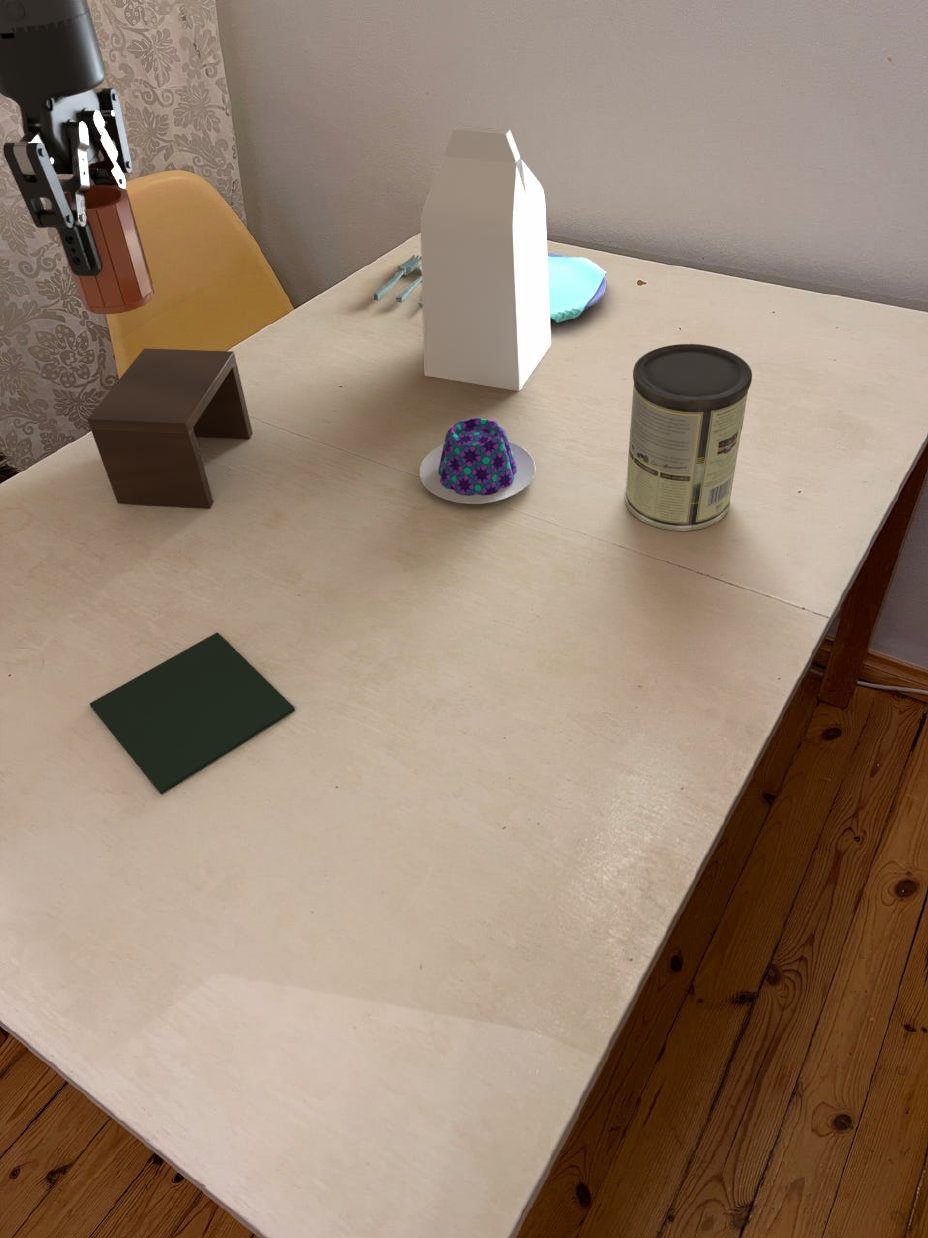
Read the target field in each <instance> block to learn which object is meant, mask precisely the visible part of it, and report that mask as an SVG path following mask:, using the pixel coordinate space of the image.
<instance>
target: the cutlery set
mask: <svg viewBox="0 0 928 1238" xmlns="http://www.w3.org/2000/svg"><path fill="white" fill-rule="evenodd" d="M547 260H548V284H549V308H550V320H554V321H555V322H556V323H561V322H564V321H568V320H575V319H576V318H579V317H580V316H581V314H582V313H583V311H584V310H587V309H588V308H590V307H592V306H594V305H595V304H596V303H597V302H598V301H599V300H601V298H602V297H604V295H605V292H606V287H607V284H608V281H607V280H606V277H605V276H607V273H608V272H606V271H605V270H604V269H603V268H601V267H600V266H599V265H598V264H596V263H595V262H593V261H592V260H590V259H588V258H586V257H581V256H580V257H579V256H578V257H576V256H575V257H573V256H568V255H563V254H558V253H552V252H551V253H549V252H547ZM420 262H421V256H420V255H415V254H413V255H412V256H411V257H410V258H408V259H407V260H406V261H405V262H403V263H402V264H400V265H397V269H398V270H397V272H396V273H395V274H394V275H393V276H392V278H391V279H390V280H388V281H387V282H386V283H385V284H384V285H383V286H381V287H379V289H377V291H375V292H374V293H373V295H372V297H373V301H380V300H381V298H382V297H384V295H385V294H387V292H389V291H390V290H391V289H393V287H394V286H395V285H396V284H397V282H398V281H399V280H400V278H401V277H402V276H408V275H409V274H412V272H413V271H414V269H416V267H417V266H418V264H419V263H420ZM418 269H419V271H420V272H421V274H422V262H421V263H420V265H419V267H418ZM421 282H422V275H420V276H418V277H417V278H416V279H415V280H414V281H412V282H411V283H410V284H408V286H407V287H405V289H403V290H402V291H401V292H400V293H399V294H398V295H397V296H396V297H395V301H396V303H403V302H404V301H405V299H406V298H407V297H408V296H409V294H410V293H411V292H412V291H413V290H414V289H415V288H416V286H418V285H419V284H420V283H421ZM417 305H418V308H419V309H423V299H422V300H421V301H420V302H418V304H417Z"/></svg>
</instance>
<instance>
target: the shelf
mask: <svg viewBox="0 0 928 1238" xmlns="http://www.w3.org/2000/svg"><path fill="white" fill-rule="evenodd" d="M86 421H87V423H88V427H89V429H90V430H91V435H92V437H93V440H94V442H95V445H96V448H97V451H98V453H99V455H100V458H101V461H102V464H103V467H104V469H105V473H106V475H107V478H108V482H109V484H110V487H111V489H112V491H113V495H114V497H115V500H116V503H117V504H119V505H137V506H153V507H154V506H155V507H172V508H186V509H187V508H188V509H202V510H203V509H206V510H210V509H211V508H212V506H213V504H214V499H213V495H212V491H211V487H210V484H209V480H208V477H207V473H206V468H205V466H204V462H203V459H202V455H201V451H200V447H199V444H198V441H197V438H213V439H235V440H236V439H237V440H250V439H251V437H252V436H253V434H254V433H253V429H252V424H251V420H250V415H249V411H248V407H247V402H246V397H245V393H244V390H243V385H242V381H241V375H240V372H239V366H238V363H237V359H236V355H235V351H229V350H203V349H201V350H199V349H176V348H175V349H172V348H171V349H170V348H167V349H166V348H146V347H145V348H143V349H142V351H141V352H140V353H139V354H138V355H137V356H136V358H135V359H134V360H133V362H132V363H131V364H130V365H129V366H128V367H127V369H126V370H125V372H124V373H123V374H122V375H121V376H120V377H119V378H118V380H117V382H116V383H114V385H113V387H111V388H110V390H109V391H108V392H107V393H106V395H105V396H104V397H103V399H102V400H101V401H100V402H99V404H98V405H97V406H96V407H95V409H94V410H93V411H92V412H91V414H90V415H89V416H88V417H87V419H86Z"/></svg>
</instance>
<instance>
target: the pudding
mask: <svg viewBox="0 0 928 1238" xmlns="http://www.w3.org/2000/svg"><path fill="white" fill-rule="evenodd" d="M536 468H537V466H536V462H535V460H534V458H533V456H532V455H531V453H530V452H529V451H528V450H527V449H525V448H524V447H522V446H521V445H520V444H517V443H516V442H513V441H510V440H509V438H508V435H507V432H506V431H505V430H504V428H503V427H502V426H500V425H499V423H498V422H497V421H495V420H493V419H489V418H488V419H484V418H481V417H471V418H469V419H462V420H459V421H458V422H456V423H454V425H453V426H452V427H450V428H449V429H448V430H447V432H446V434H445V436H444V442H443V444H441V445H439V446H437V447H435V448H434V449H432V450H431V451H430V452H428V453H427V455H426V456H424V458H423V459H422V461H421V463H420V465H419V469H418V476H419V479H420V482H421V484H422V485H423V487H425V489H426V490H428V491H429V492H430V493H432V494H433V495H435V496H436V497H438V498H441V499H443V500H446V501H450V502H453V503H459V504H468V505H480V504H490V503H495V502H499V501H502V500H503V501H504V500H506V499H509V498H511V497H513V496H515V495H517V494H519V493H520V492H522V491H524V489H526V488H527V487H528V486H529V485H531V482H532V481H533V480H534V477H535V475H536V471H537V470H536Z"/></svg>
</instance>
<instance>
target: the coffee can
mask: <svg viewBox="0 0 928 1238" xmlns="http://www.w3.org/2000/svg"><path fill="white" fill-rule="evenodd" d="M632 380H633V385H632V386H633V388H632V403H631V415H630V429H629V441H628V456H627V469H626V472H627V473H626V484H625V491H624V503H625V506H626V507H627V509H628V511H629V512H630V514H632V515H633V516H634V517H636V518H637V519H638V520H639V521H641V523H644V524H647V525H649V526H651V527H655V528H658V529H662V530H665V531H674V532H675V531H676V532H689V531H690V532H691V531H699V530H701V529H706V528H708V527H710V526H713V525H715V524H716V523H718V522H719V521H721V520H722V519H724V517H725V516H726V514H727V513H728V512H729V510H730V506H731V495H732V490H733V482H734V477H735V472H736V471H735V470H736V466H737V460H738V459H737V458H738V453H739V447H740V443H741V442H740V441H741V436H742V435H741V434H742V431H743V426H744V419H745V413H746V412H745V411H746V405H747V400H748V393H749V389H750V387H751V384H752V381H753V371H752V369H751V367H750V365H749V364H748V363H747V362H746V360H745V359H743V358H741V356H738V355H737V354H735V353H733V352H731V351H729V350H726V349H723V348H721V347H717V346H712V345H706V344H698V343H680V344H679V343H678V344H677V343H676V344H671V345H666V346H665V345H664V346H661V347H658V348H655V349H651V350H650V351H648V352H646V353H645V354H643V355H642V356H640V357H639V358H638V359H637V361H636V362H635V363H634V366H633V369H632Z"/></svg>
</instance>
